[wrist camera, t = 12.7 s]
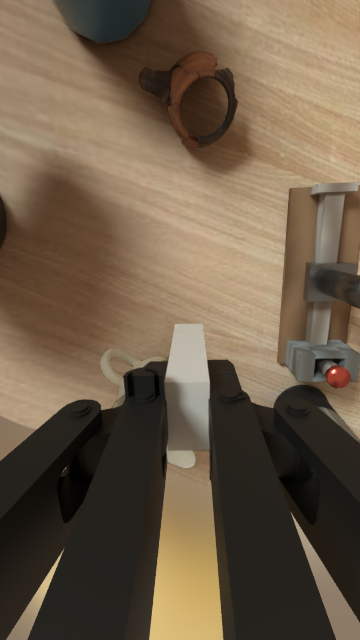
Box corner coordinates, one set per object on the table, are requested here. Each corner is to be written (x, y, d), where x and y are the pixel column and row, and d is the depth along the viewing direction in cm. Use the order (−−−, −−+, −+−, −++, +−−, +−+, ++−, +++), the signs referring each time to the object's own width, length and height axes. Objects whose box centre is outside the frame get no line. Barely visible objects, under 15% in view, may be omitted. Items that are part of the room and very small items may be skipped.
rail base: (277, 361, 47) (291, 381, 40) (289, 189, 40) (308, 179, 33) (339, 360, 46) (364, 381, 39) (363, 186, 39) (398, 175, 32)
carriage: (298, 296, 42) (344, 322, 29) (301, 262, 41) (351, 273, 28) (339, 295, 42) (405, 321, 29) (344, 261, 40) (415, 271, 27)
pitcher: (140, 314, 46) (118, 344, 32) (216, 387, 49) (224, 442, 35) (96, 357, 48) (59, 401, 35) (171, 424, 51) (163, 489, 38)
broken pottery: (235, 61, 36) (255, 66, 31) (214, 144, 43) (227, 161, 37) (141, 34, 34) (144, 33, 28) (133, 127, 40) (134, 142, 34)
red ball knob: (311, 371, 42) (327, 388, 37) (313, 353, 41) (329, 368, 36) (331, 370, 41) (349, 388, 37) (333, 353, 41) (352, 368, 36)
